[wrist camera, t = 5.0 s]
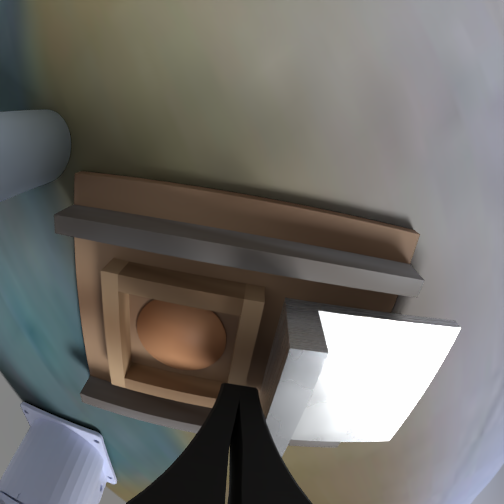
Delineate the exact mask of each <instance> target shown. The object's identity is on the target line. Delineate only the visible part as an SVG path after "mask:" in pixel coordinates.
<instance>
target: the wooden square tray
mask: <svg viewBox="0 0 504 504" xmlns="http://www.w3.org/2000/svg"><path fill="white" fill-rule="evenodd" d="M54 222H55V233H56V234H61V235H66V236H71V237H74V242H75V262H76V276H77V288H78V298H79V307H80V315H81V323H82V330H83V337H84V343H85V349H86V355H87V361H88V366H89V371H90V377H89V379H88V380H87V382H86V384H85V386H84V387H83V389H82V391H81V392H80V395H81V399H82V402H84V403H86V404H89V405H92V406H95V407H98V408H101V409H104V410H107V411H111V412H114V413H117V414H120V415H124V416H127V417H131V418H134V419H138V420H142V421H145V422H149V423H153V424H157V425H161V426H166V427H170V428H174V429H179V430H184V431H188V432H193V433H197V432H198V431H199V429H200V428H201V427H202V425H203V423H204V422H205V420H206V418H207V416H208V415H209V413H210V411H211V409H212V407H213V405H214V403H215V401H216V399H217V396H218V394H219V391H220V387H221V384H223V383H229V384H235V385H242V386H249V387H256V388H257V389H258V393H259V391H260V387H261V384H262V380H263V377H264V373H265V370H266V366H267V363H268V359H269V356H270V352H271V349H272V345H273V341H274V338H275V334H276V330H277V326H278V323H279V319H280V315H281V311H282V308H283V304H284V300H285V297H286V298H292V299H298V300H304V301H311V302H317V303H324V304H331V305H337V306H344V307H351V308H358V309H365V310H373V311H380V312H387V313H391V311H392V309H393V307H394V304H395V302H396V299H397V297H398V295H403V296H409V297H416V298H418V295H419V293H420V290H421V288H422V285H423V283H424V279H423V278H422V277H421V276H420V275H419V274H418V273H417V271H416V270H415V269H414V268H413V267H412V266H411V265H410V262H411V259H412V257H413V254H414V251H415V248H416V245H417V242H418V239H419V236H420V234H419V233H417V232H416V231H415V230H412V229H408V228H404V227H400V226H395V225H391V224H387V223H383V222H379V221H374V220H370V219H365V218H361V217H357V216H352V215H347V214H343V213H338V212H334V211H329V210H324V209H319V208H314V207H310V206H305V205H300V204H294V203H289V202H284V201H279V200H274V199H268V198H263V197H257V196H252V195H246V194H240V193H235V192H229V191H223V190H217V189H211V188H205V187H198V186H192V185H185V184H179V183H172V182H165V181H158V180H151V179H143V178H136V177H128V176H120V175H112V174H103V173H94V172H85V171H80V172H77V173H75V178H74V205H72V206H70V207H68V208H66V209H64V210H62V211H60V212H58V213H56V214H55V215H54ZM339 444H340V442H328V441H305V440H290V442H289V444H288V445H291V446H308V447H337V446H338V445H339Z"/></svg>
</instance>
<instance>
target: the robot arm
mask: <svg viewBox="0 0 504 504" xmlns="http://www.w3.org/2000/svg"><path fill="white" fill-rule="evenodd" d="M20 406H21V408H22V410H23V412H24V415H25V417H26V419H27V421H28V423H29V425H30V429H29V430H28V432H27V434H26V435H25V437H24V439H23V440H22V442H21V444H20V446H19V448H18V449H17V451H16V453H15V454H14V456H13V458H12V460H11V461H10V463H9V465H8V467H7V469H6V470H5V472H4V474H3V476H2V478H1V480H0V504H99V502H100V499H101V496H102V493H103V490H104V488H105V485H106V482H109V483H112V484H116V483H117V479H116V476H115V473H114V471H113V468H112V465H111V462H110V459H109V456H108V453H107V450H106V447H105V443H104V440H103V437H102V435H101V434H100V433H98V432H96V431H93V430H90V429H88V428H85V427H82V426H79V425H77V424H74V423H72V422H69V421H67V420H64V419H62V418H59V417H57V416H54V415H52V414H50V413H47V412H45V411H43V410H41V409H39V408H36V407H34V406H32V405H30V404H28V403H26V402H22V403H21V404H20ZM229 446H230V475H229V497H228V504H312V503H311V501H310V500H309V499H308V498H307V496H306V495H305V494H304V492H303V491H302V490H301V488H300V487H299V486H298V484H297V483H296V481H295V480H294V478H293V477H292V475H291V473H290V472H289V470H288V468H287V467H286V465H285V463H284V461H283V460H282V458H281V456H280V454H279V452H278V450H277V447H276V445H275V443H274V441H273V438H272V436H271V434H270V431H269V428H268V426H267V423H266V420H265V417H264V414H263V410H262V407H261V403H260V398H259V393H258V389H257V388H256V387H249V386H242V385H235V384H229V383H223V384H221V387H220V391H219V394H218V396H217V399H216V401H215V403H214V405H213V407H212V409H211V411H210V413H209V415H208V416H207V418H206V420H205V422H204V423H203V425H202V427H201V428H200V429H199V431H198V432H197V434H196V435H195V437H194V438H193V440H192V441H191V442H190V444H189V445H188V446H187V448H186V449H185V450H184V451H183V452H182V454H181V455H180V456H179V457H178V458H177V459H176V460H175V461H174V463H173V464H172V465H171V466H170V467H169V468H168V469H167V470H166V471H165V472H164V473H163V474H162V475H161V476H160V477H158V478H157V479H156V480H155V481H154V482H153V483H152V484H151V485H149V486H148V487H147V488H146V489H145V490H143V491H142V492H141V493H139V494H138V495H136V496H135V497H134V498H132V499H131V500H130V501H128V502H127V503H126V504H225V492H226V478H227V465H228V454H229Z"/></svg>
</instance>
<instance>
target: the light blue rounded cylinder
mask: <svg viewBox="0 0 504 504" xmlns="http://www.w3.org/2000/svg"><path fill="white" fill-rule="evenodd" d="M70 152H71V137H70V132H69V128H68V126H67V124H66V122H65V120H64V119H63V118H62V117H61V116H60V115H59V114H58V113H56V112H55V111H52V110H46V109H45V110H21V111H6V112H0V202H1V201H4V200H6V199H8V198H11V197H13V196H16V195H18V194H21V193H23V192H26V191H28V190H31V189H33V188H36V187H39V186H41V185H44V184H47V183H49V182H52V181H54V180H55V179H57V178H58V177H59V176H60V175H61V174H62V172H63V171H64V169H65V168H66V166H67V163H68V161H69V157H70Z"/></svg>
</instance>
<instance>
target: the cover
mask: <svg viewBox="0 0 504 504" xmlns="http://www.w3.org/2000/svg"><path fill="white" fill-rule="evenodd" d="M460 329H461V327H460V326H459V325H458V324H457V322H456V321H454V320H445V319H436V318H427V317H419V316H411V315H403V314H395V313H387V312H380V311H373V310H365V309H358V308H351V307H344V306H337V305H331V304H324V303H317V302H311V301H304V300H298V299H292V298H286V297H285V300H284V304H283V308H282V311H281V315H280V319H279V323H278V326H277V330H276V334H275V338H274V341H273V345H272V349H271V352H270V356H269V359H268V363H267V366H266V370H265V373H264V377H263V380H262V384H261V387H260V391H259V398H260V403H261V407H262V410H263V414H264V417H265V420H266V423H267V426H268V428H269V431H270V434H271V436H272V438H273V441H274V443H275V445H276V447H277V450H278V452H279V454H280V456H281V457H282V456H283V454H284V452H285V450H286V448H287V446H288V444H289V442H290V440H305V441H328V442H371V441H389V440H390V439H391V438H392V437H393V435H394V434H395V433H396V431H397V430H398V429H399V427H400V426H401V425H402V423H403V422H404V420H405V419H406V418H407V416H408V415H409V413H410V412H411V411H412V409H413V408H414V406H415V405H416V403H417V402H418V400H419V399H420V397H421V396H422V394H423V393H424V391H425V390H426V388H427V387H428V385H429V383H430V382H431V380H432V379H433V377H434V375H435V374H436V372H437V370H438V369H439V367H440V365H441V364H442V362H443V360H444V359H445V357H446V355H447V353H448V351H449V350H450V348H451V346H452V344H453V342H454V341H455V339H456V337H457V335H458V333H459V331H460Z"/></svg>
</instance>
